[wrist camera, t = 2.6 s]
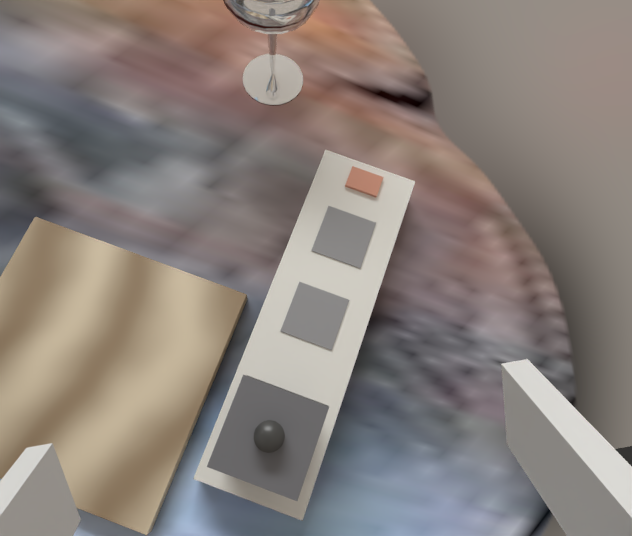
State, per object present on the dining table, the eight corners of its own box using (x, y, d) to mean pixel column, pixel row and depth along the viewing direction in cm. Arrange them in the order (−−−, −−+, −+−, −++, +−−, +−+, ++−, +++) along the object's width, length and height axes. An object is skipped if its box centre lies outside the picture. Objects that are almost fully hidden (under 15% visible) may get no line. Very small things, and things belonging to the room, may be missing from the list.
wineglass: (294, 126, 42) (300, 13, 30) (217, 95, 42) (194, -29, 31) (326, 63, 44) (343, -67, 32) (253, 33, 44) (244, -105, 33)
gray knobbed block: (228, 454, 34) (204, 468, 23) (253, 389, 35) (242, 372, 24) (291, 479, 33) (297, 503, 23) (314, 412, 35) (330, 406, 24)
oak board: (-82, 440, 33) (-95, 441, 32) (42, 223, 38) (35, 216, 37) (151, 531, 33) (146, 535, 31) (247, 298, 37) (246, 294, 36)
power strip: (199, 475, 34) (192, 479, 31) (322, 165, 41) (326, 147, 38) (300, 514, 33) (302, 521, 31) (407, 195, 41) (416, 179, 38)
